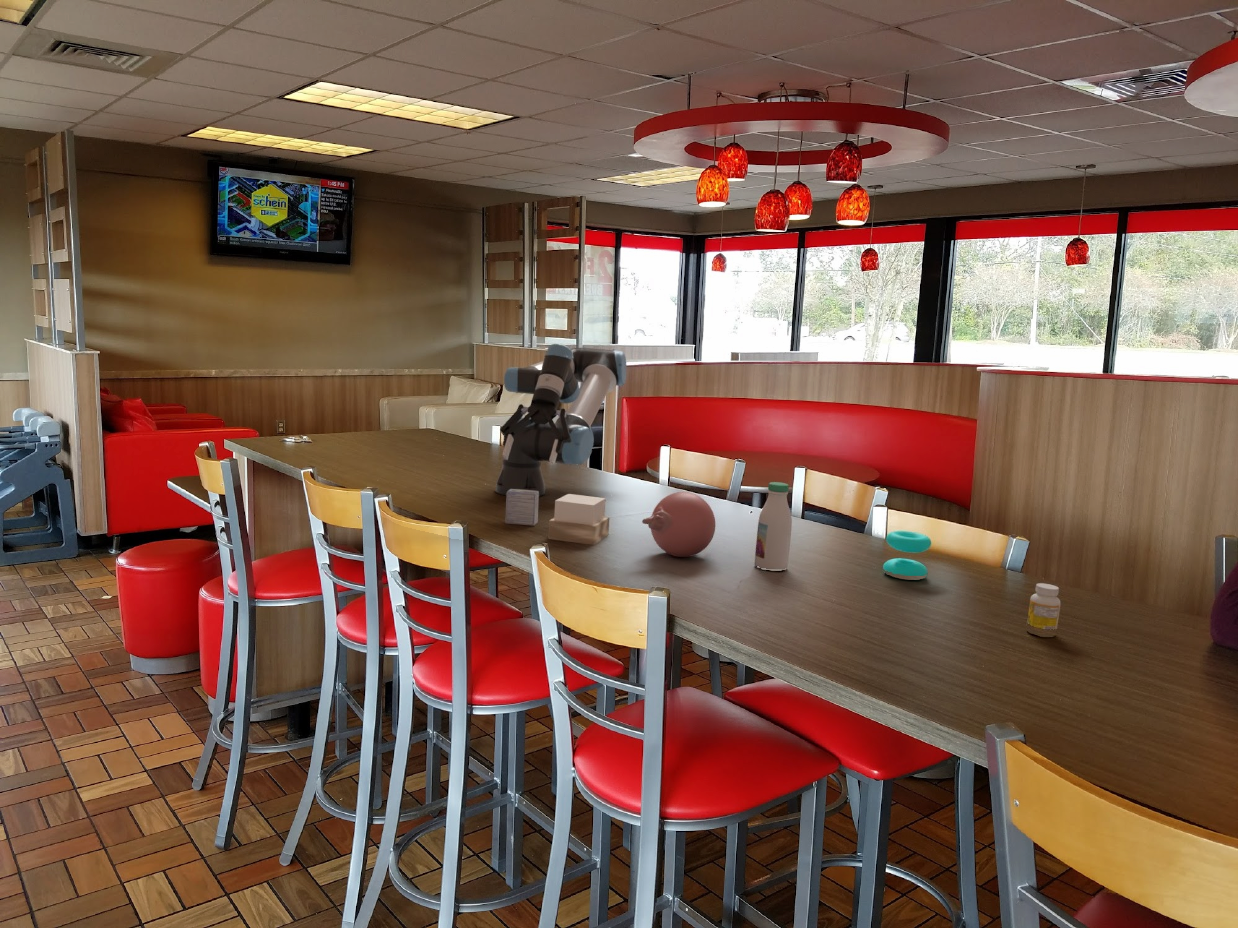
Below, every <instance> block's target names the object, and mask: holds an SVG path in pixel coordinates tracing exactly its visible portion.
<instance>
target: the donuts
mask: <svg viewBox="0 0 1238 928" xmlns="http://www.w3.org/2000/svg"><path fill="white" fill-rule="evenodd" d="M885 541H886V543H887V544H888V546H889V547H891V548H893V549H894V550H897V551H899V552H900V551H901V552H905V553H910V554H911V553H914V554H915V553H917V554H918V553H924V552H926V551H927V550H929V549H930V548H931V546H932V540H931V538H930V537H929V536H927V535H926V534H923V533H919V532H915V531H909V530H895V531H894V530H893V531H891V532H889V533H888V534H887V535H886V539H885ZM882 566H883V567H882V570H883V569H884V570H885V571H888V572H892V573H893V574H900V575H905V576H924V575H926V574H927V573H929V572H928V568H927V567H926V566H925V565H924V564H923V563H921V562H919V561H917V560H914V559H909V558H900V557H898V558H891V559H887V561H885V562H884V563H883V565H882ZM927 575H928V574H927Z"/></svg>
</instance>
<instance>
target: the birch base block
mask: <svg viewBox="0 0 1238 928" xmlns="http://www.w3.org/2000/svg"><path fill="white" fill-rule="evenodd" d="M609 528H610V517H609V516H605V517H604V518H603V519H601V520H600V521H598V522H597V523H595V524H594V525H587V524H579V523H571V522H563V521H556V520H554V517H553V518H551V519H549V520H548V535H547V538H548V540H555V541H563V542H570V543H571V542H572V543H577V544H584V545H593V546H595V545H596V544H597V543H599V542H600V541H602V540H603V539H604V538H606V537H608V536H609V532H610V531H609Z"/></svg>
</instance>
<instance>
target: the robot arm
mask: <svg viewBox="0 0 1238 928" xmlns="http://www.w3.org/2000/svg"><path fill="white" fill-rule="evenodd" d="M626 381H627V359H626V354H625V353H624V352H623V351H622V350H616V349H605V348H604V349H603V348H602V349H601V348H590V347H574V348H570V347H569V346H567V345H565V344H563V343H552V344H551V345H549V346H548V348H547V349H546V352H545V354H544V359H543V360H542V361H539V362H537V363H533V364H531V365H527V366H525V367H518V366H516V367H508V368H507V369H506V370H505V372H504V377H503V385H504V389H505V390H506V391H507V392H510V393H515V394H527V395H532V398H531V402H530V405H529V406H525V405H523V404H519V405H518V407H517V409H516V411H515V412H513V414H512V415H511V416H510V417H509V418H508V419H507V420H506V421H505V423H503V424H502V426H501V427H500V429H499V430H500V433H501V434H502V436H503V441H502V447H503V448H502V451H503V452H502V466H501V470H500V473H499V475H498V477H497V478H498V479H497V481H496V483H495V492H496V493H497V494H499V495H504V496H507V491H508V490H510V489H520V490H532V491H539V497H540V496H544V495H545V494H546V484H545V481H544V476H543V472H542V468H541V466H542V462H547V463H550V464H551V466H555V464H562V465H563V464H565V465H569V466H572V465H574V466H579V465H582V464H584V463H586V462H587V461H588V460H589V458H590V456H591V454H592V452H593V450H592V449H593V448H594V447H593V446H594V442H595V438H594V432H593V430H592V428H591V426H592V424H593V422H594V420H595V418H596V416H597V414H598V412H599V410H600V408H601V406H602V404H603V402H604V400H605V398H606V397H607V394H609V393H612V392H613V391H614V390H615V388H616V387H617V386H618V387H623V386H624V385H625V383H626ZM579 383H581V385H580V386H579ZM560 403H562V404H570V405H569V406H568V409H567V411H566V409H565V408H561V409H560V410H559V409H558V407H559V405H560ZM526 413H527V414H526ZM523 416H524V417H523ZM557 416H558V418H557V419H556V421H554V419H555V418H556V417H557Z"/></svg>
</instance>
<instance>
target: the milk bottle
mask: <svg viewBox="0 0 1238 928" xmlns="http://www.w3.org/2000/svg"><path fill="white" fill-rule="evenodd" d="M767 488H768V490H767V492H768V496H767V499H766V501H765V503H764V505H763V507H762V509H761V511H760V512H759V517H758V523H757V531H756V533H757V534H756V543H755V555H754V566H755V565H756V566H759V567H760V568H766V569H785V568H787V567H789V560H790V550H791V548H790V547H791V541H792V540H791V538H792V528H793V527H792V523H793V518H792V517H793V516H792V512H791V510H790V507H789V503H788V499H787V498H788V494H789V488H790V487H789V484H788V483H785V482H778V481H776V482H775V481H772V482H769V483H768V486H767ZM756 566H755V567H756ZM787 569H788V568H787Z"/></svg>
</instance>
